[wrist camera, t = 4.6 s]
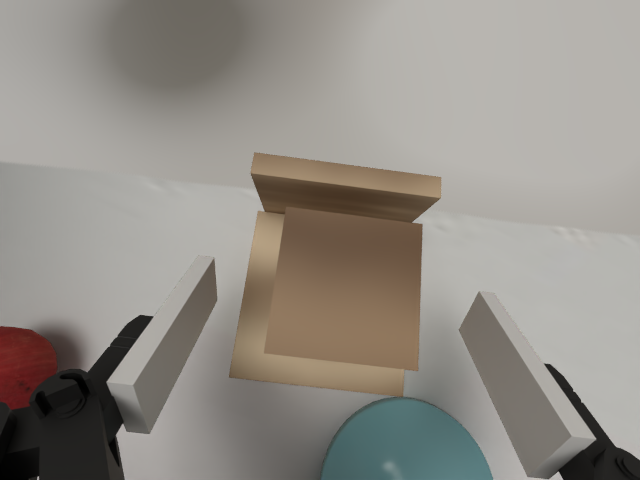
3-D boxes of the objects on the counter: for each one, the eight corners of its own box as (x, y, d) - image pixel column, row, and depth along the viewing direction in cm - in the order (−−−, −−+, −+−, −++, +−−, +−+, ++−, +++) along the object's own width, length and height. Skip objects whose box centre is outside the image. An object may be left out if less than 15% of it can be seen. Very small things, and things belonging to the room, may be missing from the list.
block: (359, 341, 19) (417, 371, 9) (283, 332, 19) (263, 353, 9) (365, 266, 20) (422, 224, 11) (294, 257, 20) (286, 206, 11)
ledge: (385, 382, 22) (448, 435, 13) (241, 366, 22) (193, 407, 12) (394, 229, 25) (450, 178, 16) (267, 213, 25) (244, 151, 15)
